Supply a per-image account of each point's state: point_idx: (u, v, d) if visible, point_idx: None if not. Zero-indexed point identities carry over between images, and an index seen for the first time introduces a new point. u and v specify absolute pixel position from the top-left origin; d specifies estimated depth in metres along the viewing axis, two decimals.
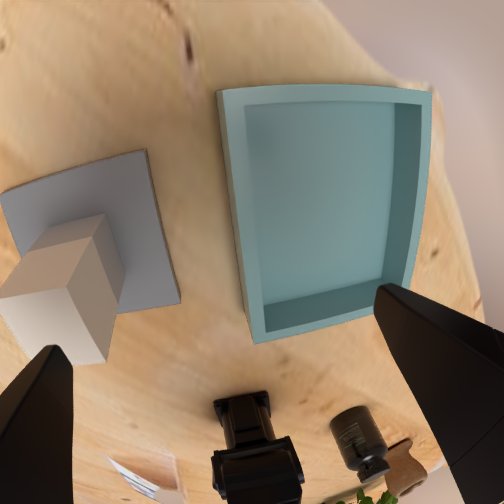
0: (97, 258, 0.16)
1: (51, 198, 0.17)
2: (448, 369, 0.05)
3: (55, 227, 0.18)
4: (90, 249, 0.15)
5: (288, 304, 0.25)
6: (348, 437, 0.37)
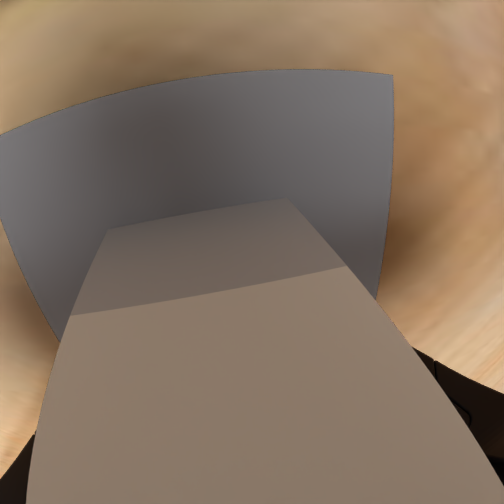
0: (130, 320, 0.04)
1: None
2: None
3: None
4: (77, 348, 0.04)
5: None
6: None
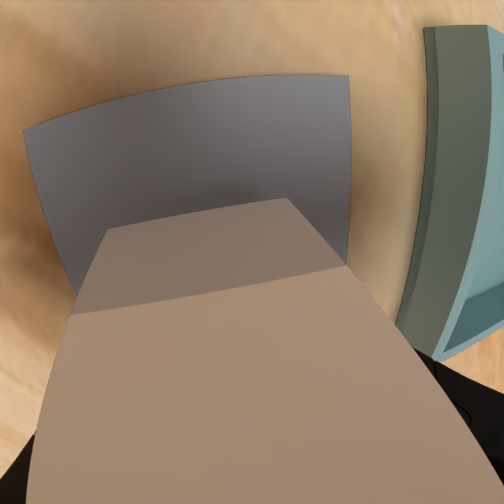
0: (130, 320, 0.04)
1: (148, 135, 0.09)
2: None
3: None
4: (77, 347, 0.04)
5: None
6: None
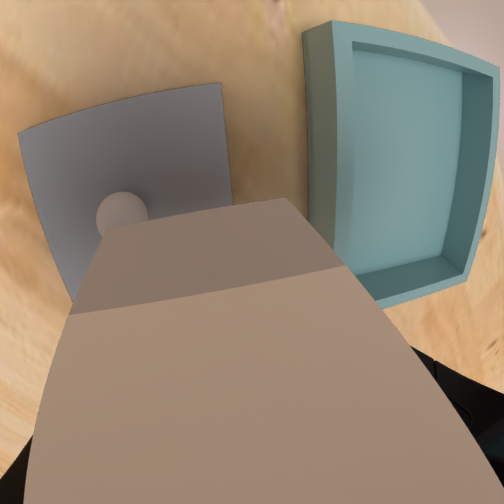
0: (128, 320, 0.04)
1: (90, 135, 0.14)
2: None
3: None
4: (75, 347, 0.04)
5: None
6: None
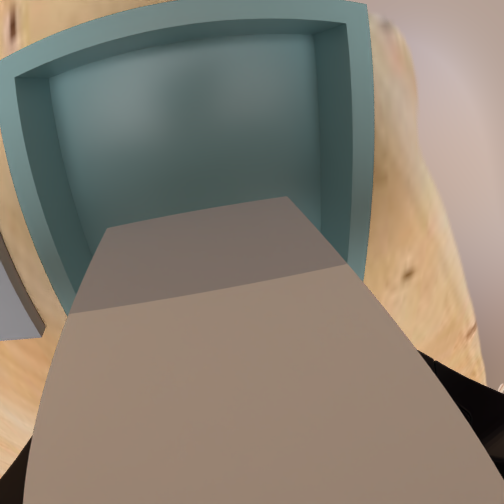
0: (129, 318, 0.04)
1: None
2: None
3: None
4: (76, 346, 0.04)
5: None
6: None
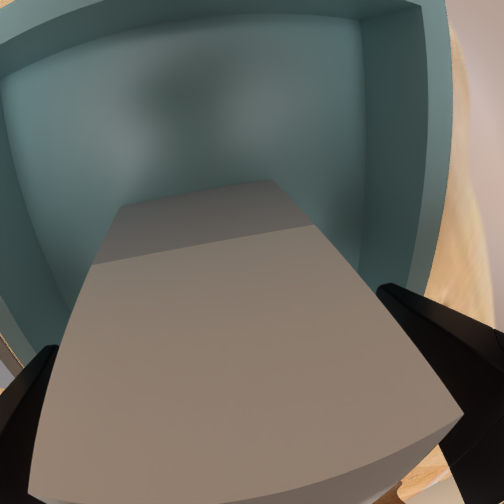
0: (141, 264, 0.06)
1: None
2: (448, 369, 0.05)
3: None
4: (98, 284, 0.05)
5: None
6: None
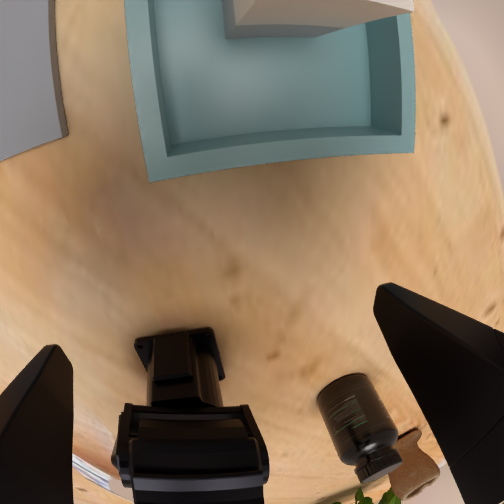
0: None
1: None
2: (448, 369, 0.05)
3: (224, 20, 0.12)
4: None
5: (218, 139, 0.15)
6: (342, 416, 0.27)
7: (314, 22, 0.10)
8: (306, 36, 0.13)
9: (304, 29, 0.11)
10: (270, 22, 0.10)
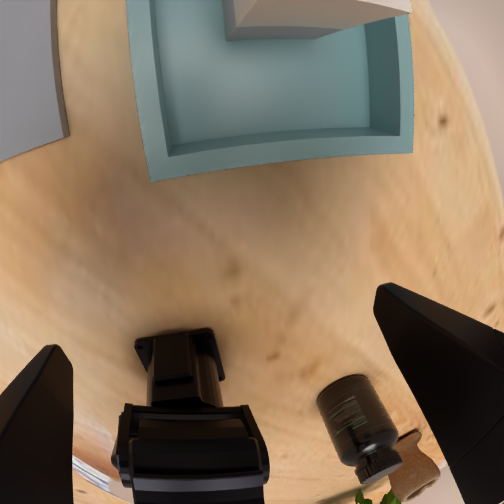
0: None
1: None
2: (448, 369, 0.05)
3: (225, 22, 0.12)
4: None
5: (219, 139, 0.15)
6: (342, 417, 0.27)
7: (313, 24, 0.10)
8: (305, 38, 0.14)
9: (303, 31, 0.12)
10: (270, 24, 0.10)
